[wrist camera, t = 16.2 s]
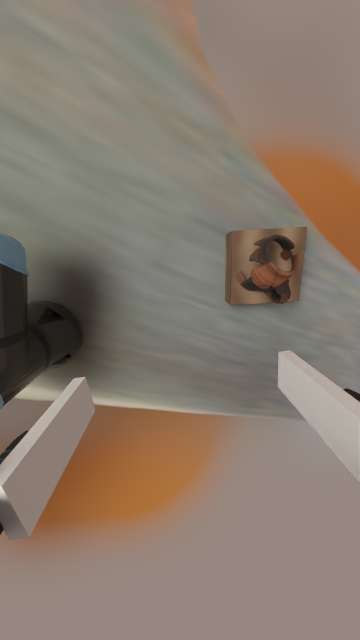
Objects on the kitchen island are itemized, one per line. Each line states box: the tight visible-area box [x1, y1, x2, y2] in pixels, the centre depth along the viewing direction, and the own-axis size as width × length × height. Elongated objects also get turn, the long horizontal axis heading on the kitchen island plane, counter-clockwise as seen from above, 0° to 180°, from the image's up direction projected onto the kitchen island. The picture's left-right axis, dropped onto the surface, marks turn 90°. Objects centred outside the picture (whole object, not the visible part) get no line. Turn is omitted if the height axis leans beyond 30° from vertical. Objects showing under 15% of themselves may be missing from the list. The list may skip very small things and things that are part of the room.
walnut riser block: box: [225, 227, 307, 305], centre depth 40 cm, size 14×14×5 cm
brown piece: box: [236, 235, 300, 304], centre depth 35 cm, size 12×9×8 cm
